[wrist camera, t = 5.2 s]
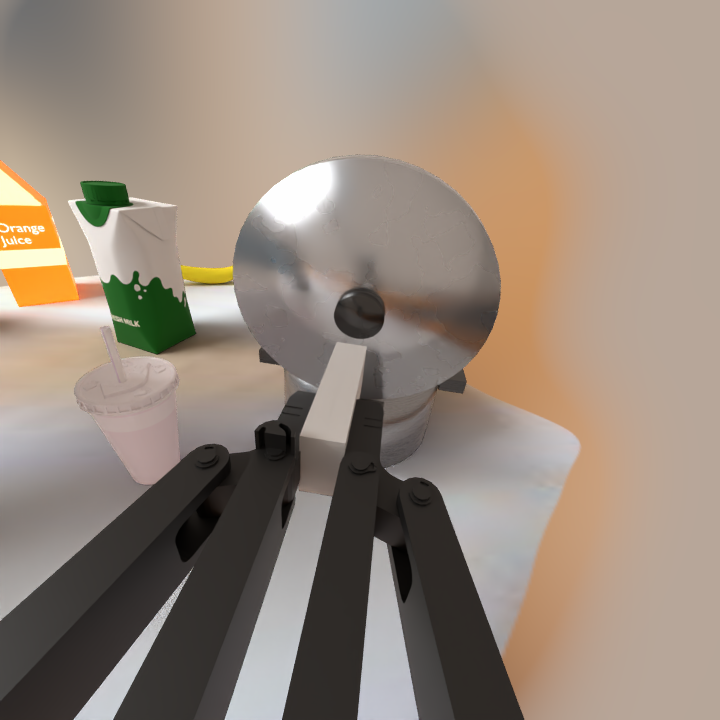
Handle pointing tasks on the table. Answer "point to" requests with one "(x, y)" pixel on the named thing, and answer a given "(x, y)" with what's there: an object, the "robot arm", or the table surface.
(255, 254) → the lid
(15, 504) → the table surface
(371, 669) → the table surface
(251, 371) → the table surface
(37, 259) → the orange juice
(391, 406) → the cooker
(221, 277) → the banana
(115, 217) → the milk carton
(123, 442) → the smoothie
